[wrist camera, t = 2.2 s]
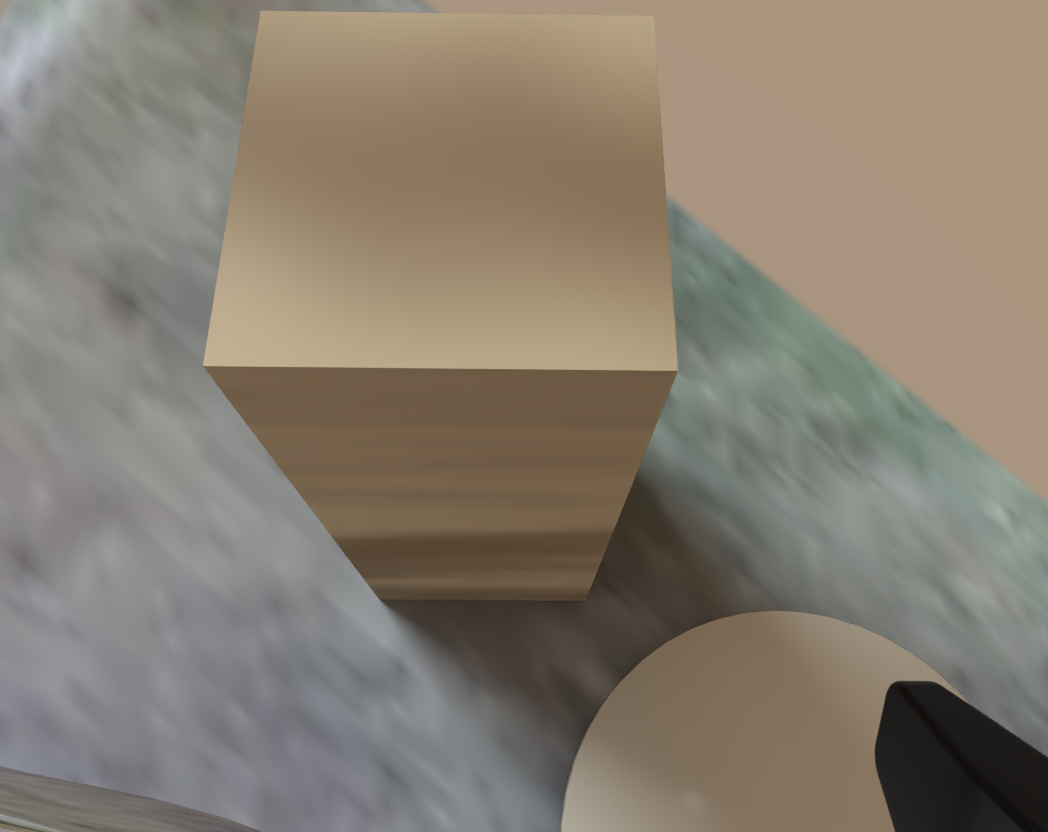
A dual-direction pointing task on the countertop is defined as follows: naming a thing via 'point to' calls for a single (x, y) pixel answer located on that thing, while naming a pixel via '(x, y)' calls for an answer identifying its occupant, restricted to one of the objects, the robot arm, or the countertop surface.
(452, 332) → the wooden block
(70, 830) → the beer glass
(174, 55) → the countertop surface
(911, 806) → the robot arm
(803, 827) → the saucer
